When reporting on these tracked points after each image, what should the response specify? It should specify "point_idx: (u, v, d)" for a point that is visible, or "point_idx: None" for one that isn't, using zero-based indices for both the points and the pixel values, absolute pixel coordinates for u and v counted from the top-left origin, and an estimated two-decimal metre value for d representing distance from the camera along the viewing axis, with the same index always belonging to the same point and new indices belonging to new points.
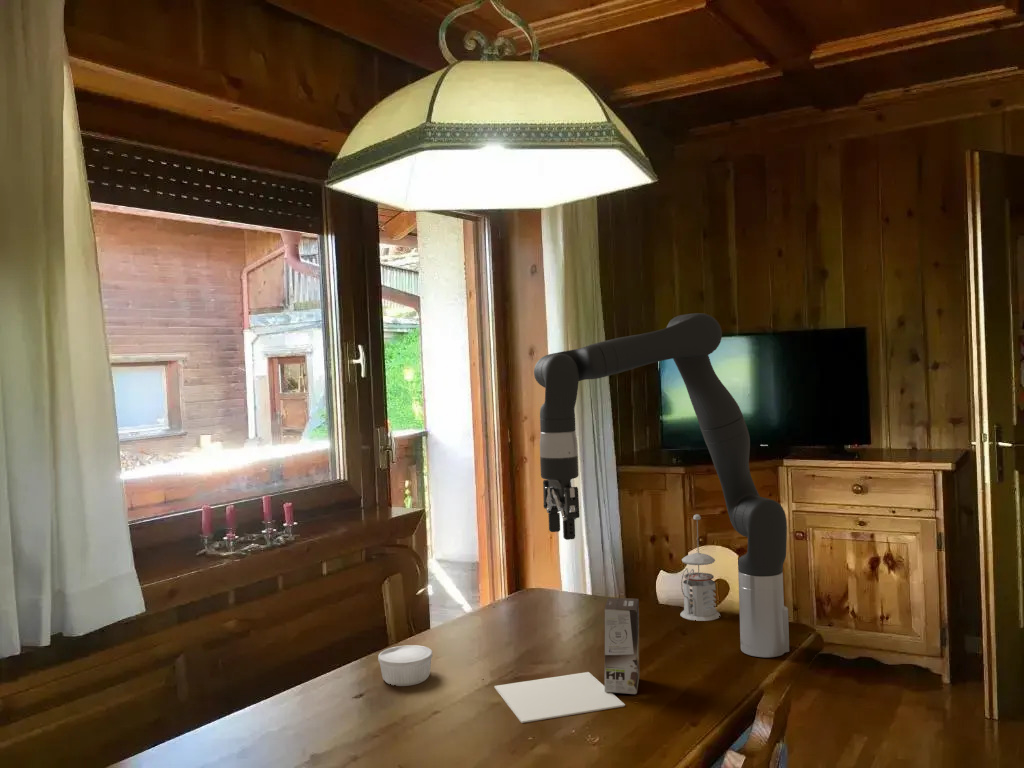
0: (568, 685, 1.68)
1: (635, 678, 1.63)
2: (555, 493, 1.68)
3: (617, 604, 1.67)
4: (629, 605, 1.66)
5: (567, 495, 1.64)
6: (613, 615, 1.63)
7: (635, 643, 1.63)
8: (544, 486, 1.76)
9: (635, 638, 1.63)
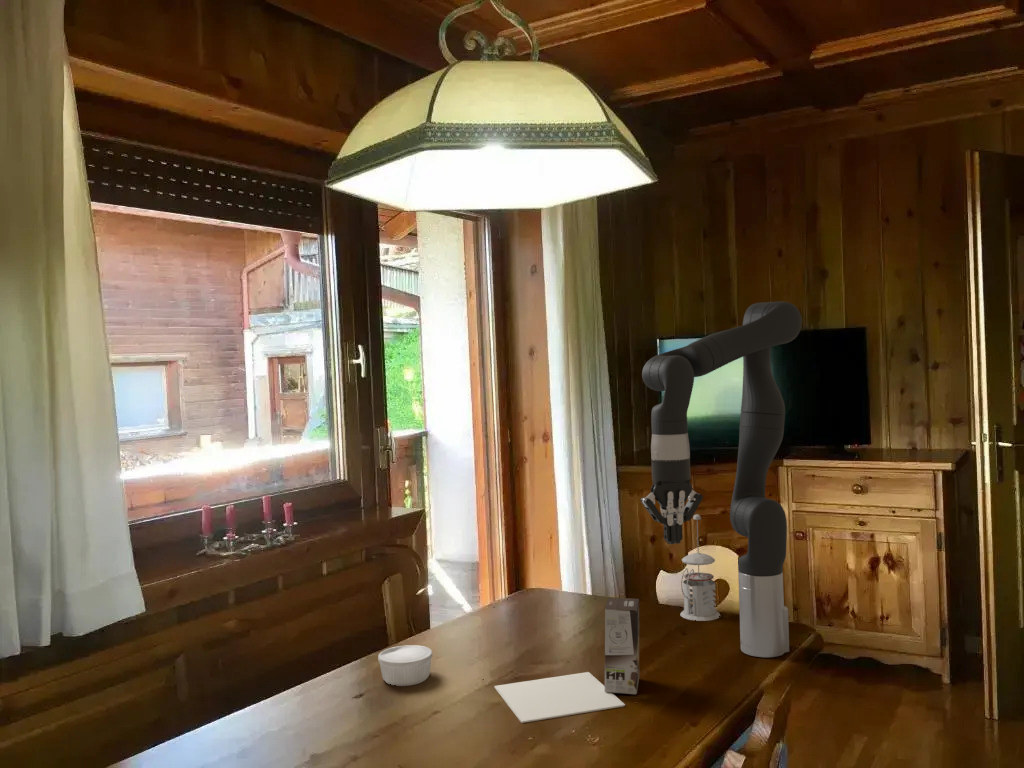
0: (568, 685, 1.68)
1: (635, 678, 1.63)
2: None
3: (617, 604, 1.67)
4: (629, 605, 1.66)
5: None
6: (613, 615, 1.63)
7: (635, 643, 1.63)
8: (651, 504, 1.67)
9: (635, 638, 1.63)
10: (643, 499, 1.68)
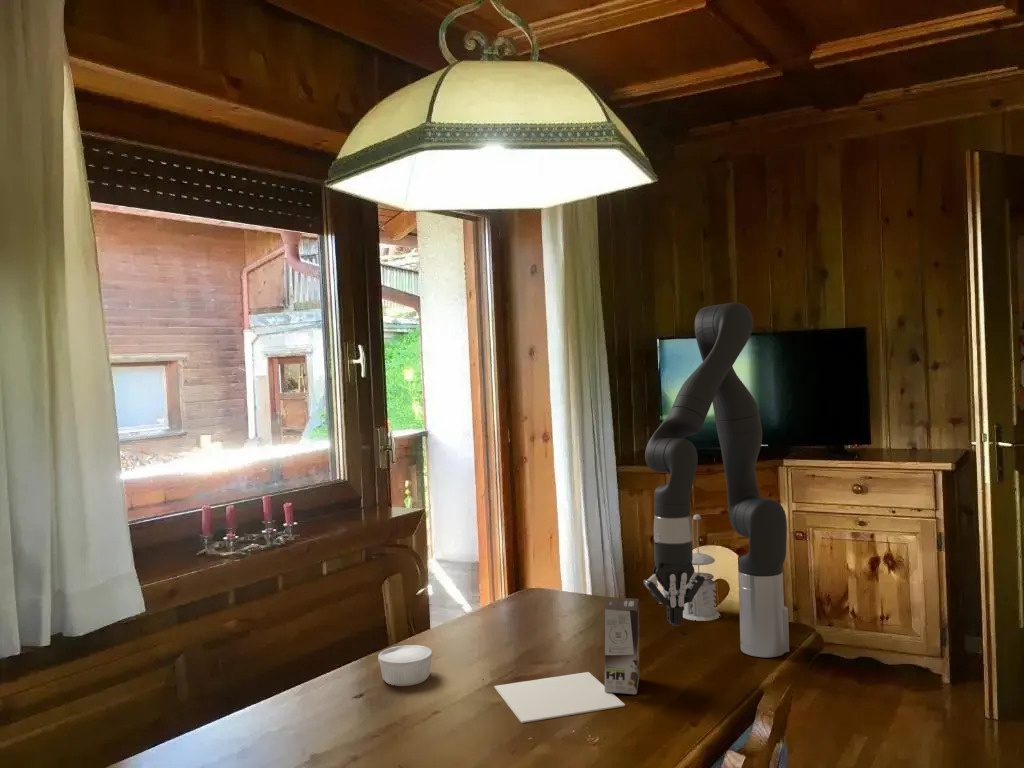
0: (568, 685, 1.68)
1: (635, 678, 1.63)
2: None
3: (617, 604, 1.67)
4: (629, 605, 1.66)
5: None
6: (613, 615, 1.63)
7: (635, 643, 1.63)
8: (653, 587, 1.68)
9: (635, 638, 1.63)
10: (646, 582, 1.69)
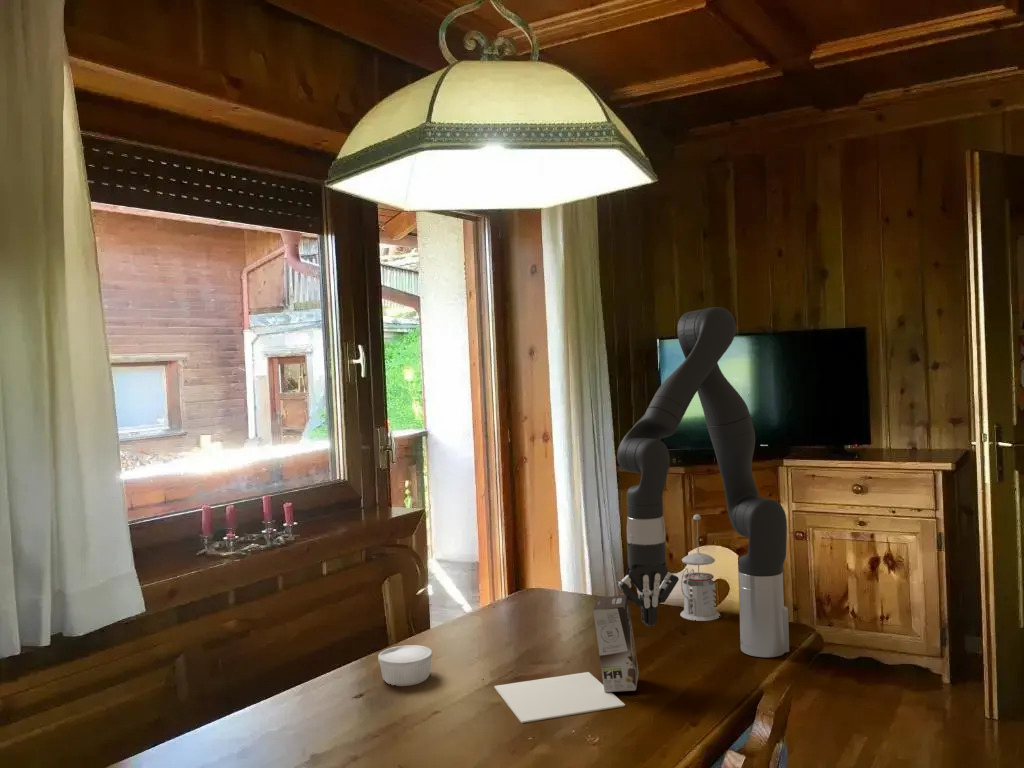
0: (568, 685, 1.68)
1: (632, 674, 1.63)
2: None
3: (605, 603, 1.67)
4: (617, 603, 1.66)
5: None
6: (602, 615, 1.63)
7: (628, 640, 1.63)
8: (626, 588, 1.67)
9: (627, 635, 1.63)
10: (619, 583, 1.68)
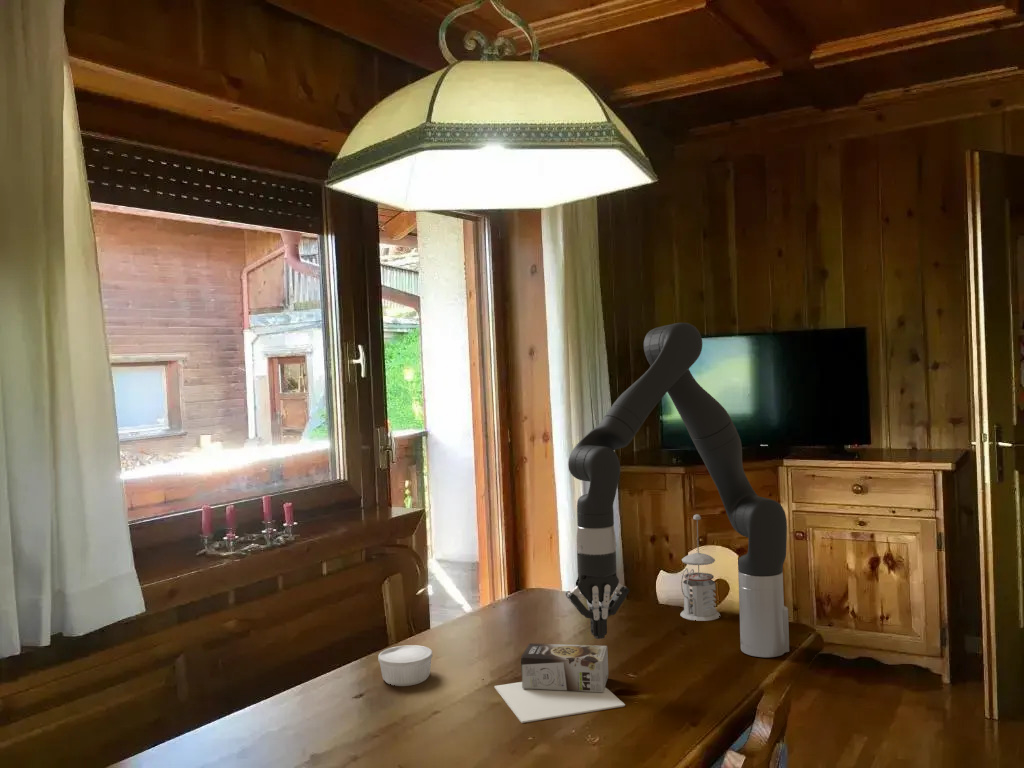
0: None
1: (587, 661, 1.64)
2: None
3: None
4: None
5: None
6: (527, 680, 1.67)
7: (553, 660, 1.65)
8: (575, 599, 1.63)
9: (548, 659, 1.66)
10: (568, 594, 1.64)
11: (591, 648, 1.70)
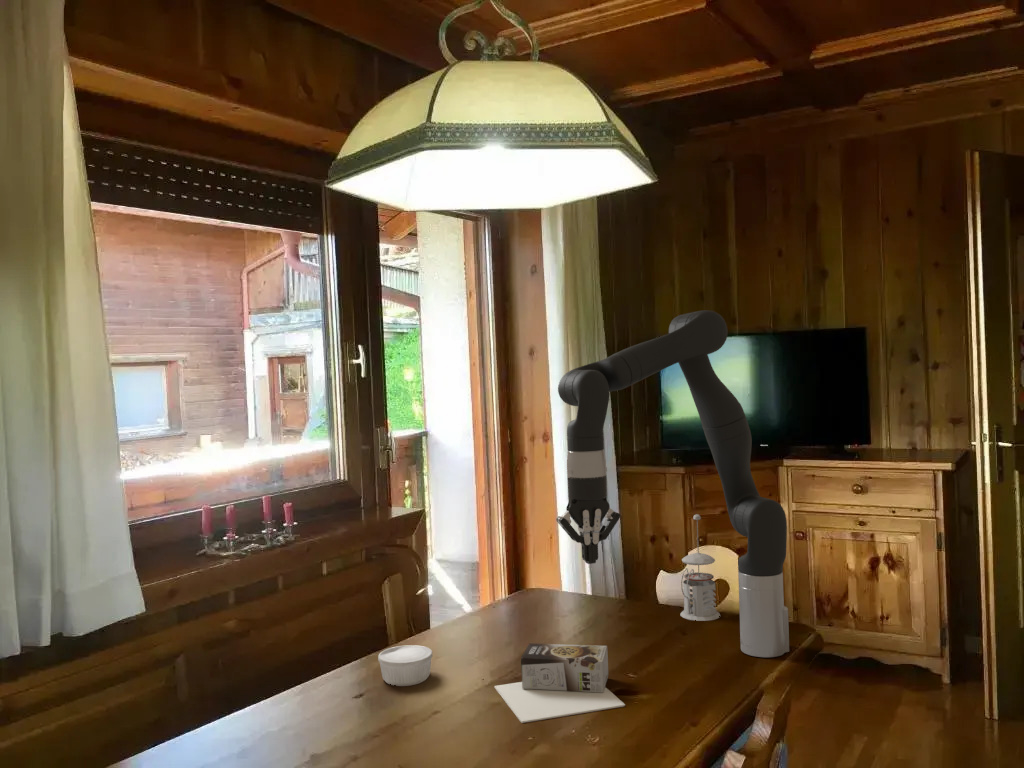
0: None
1: (587, 661, 1.64)
2: (600, 515, 1.64)
3: None
4: None
5: None
6: (527, 680, 1.67)
7: (552, 660, 1.65)
8: (566, 523, 1.62)
9: (548, 660, 1.66)
10: (558, 518, 1.63)
11: (591, 648, 1.70)
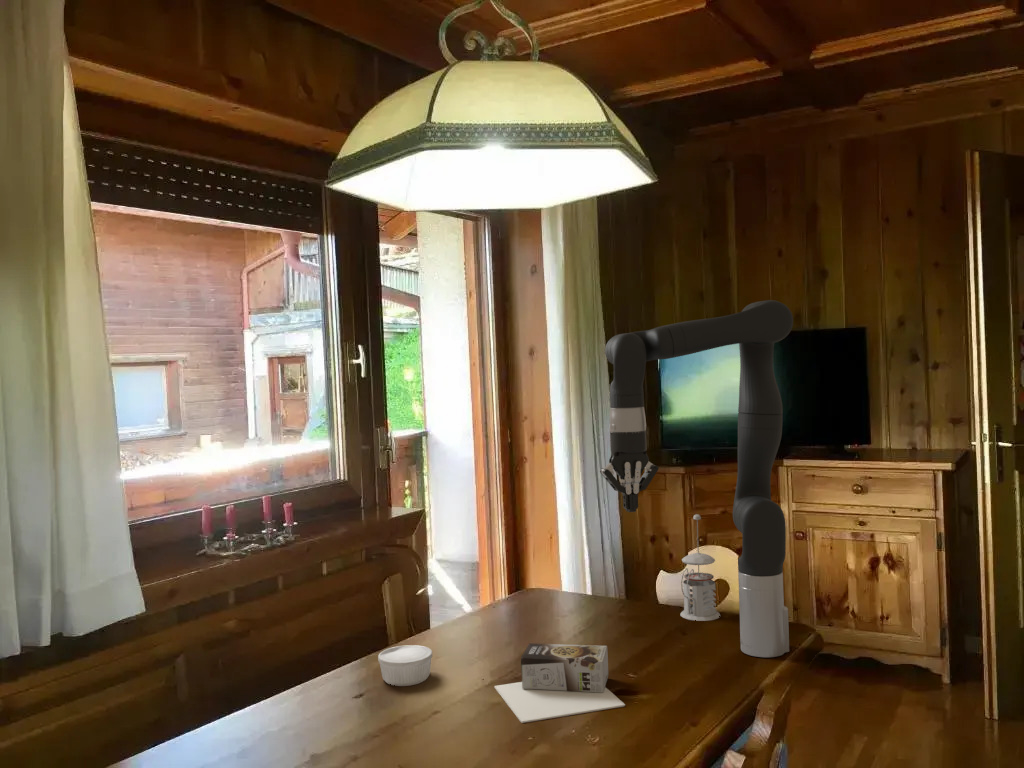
0: None
1: (587, 661, 1.64)
2: None
3: None
4: None
5: None
6: (527, 680, 1.67)
7: (552, 660, 1.65)
8: (609, 474, 1.77)
9: (548, 660, 1.66)
10: (602, 470, 1.78)
11: (591, 648, 1.70)
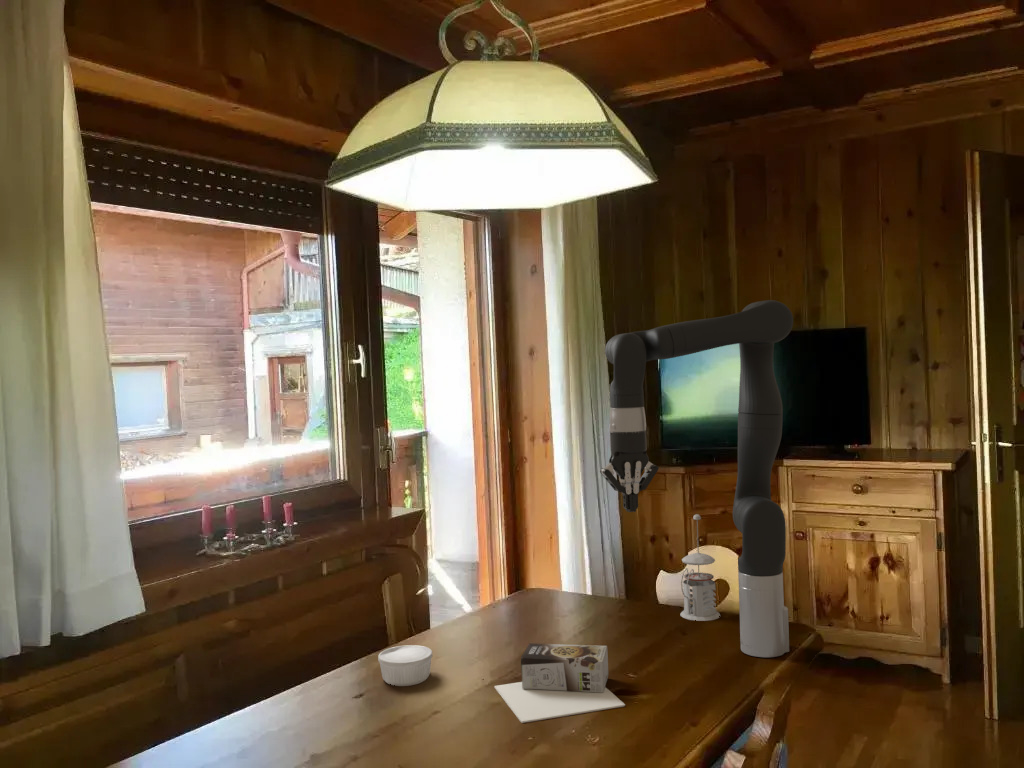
0: None
1: (587, 661, 1.64)
2: None
3: None
4: None
5: None
6: (527, 680, 1.67)
7: (552, 660, 1.65)
8: (609, 474, 1.77)
9: (548, 660, 1.66)
10: (602, 470, 1.78)
11: (591, 648, 1.70)
